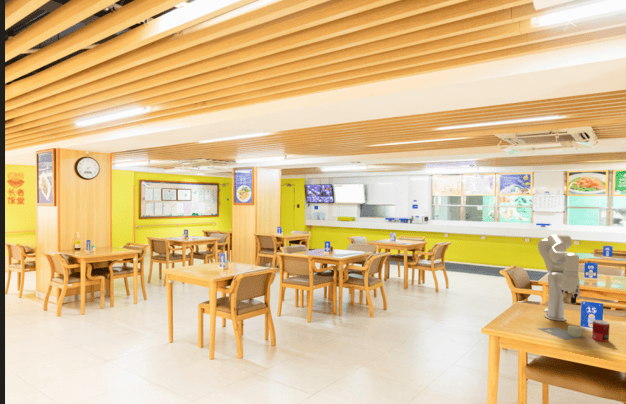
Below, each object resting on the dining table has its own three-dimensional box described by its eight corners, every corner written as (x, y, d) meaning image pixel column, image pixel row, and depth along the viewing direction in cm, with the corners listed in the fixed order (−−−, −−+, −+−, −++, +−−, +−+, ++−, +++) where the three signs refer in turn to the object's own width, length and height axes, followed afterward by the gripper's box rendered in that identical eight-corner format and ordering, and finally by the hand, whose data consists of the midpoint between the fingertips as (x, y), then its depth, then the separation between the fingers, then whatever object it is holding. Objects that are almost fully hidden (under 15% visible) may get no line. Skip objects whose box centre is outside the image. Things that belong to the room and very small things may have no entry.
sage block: (567, 334, 244) (567, 326, 244) (573, 333, 246) (574, 325, 246) (575, 337, 240) (575, 328, 240) (581, 336, 241) (581, 328, 241)
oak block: (562, 302, 259) (563, 292, 259) (569, 301, 260) (569, 292, 260) (569, 304, 254) (570, 294, 254) (576, 304, 255) (576, 294, 255)
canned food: (605, 343, 231) (606, 324, 231) (589, 339, 238) (590, 320, 238) (610, 341, 236) (611, 322, 236) (595, 337, 242) (595, 319, 242)
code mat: (536, 329, 253) (536, 328, 253) (556, 327, 258) (556, 327, 258) (565, 340, 234) (565, 339, 234) (586, 338, 239) (586, 337, 239)
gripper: (554, 271, 264) (553, 298, 264) (578, 276, 247) (577, 306, 248) (564, 270, 266) (562, 298, 266) (588, 276, 249) (586, 305, 250)
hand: (569, 301), depth 257 cm, fingers closed on oak block, 5 cm apart
